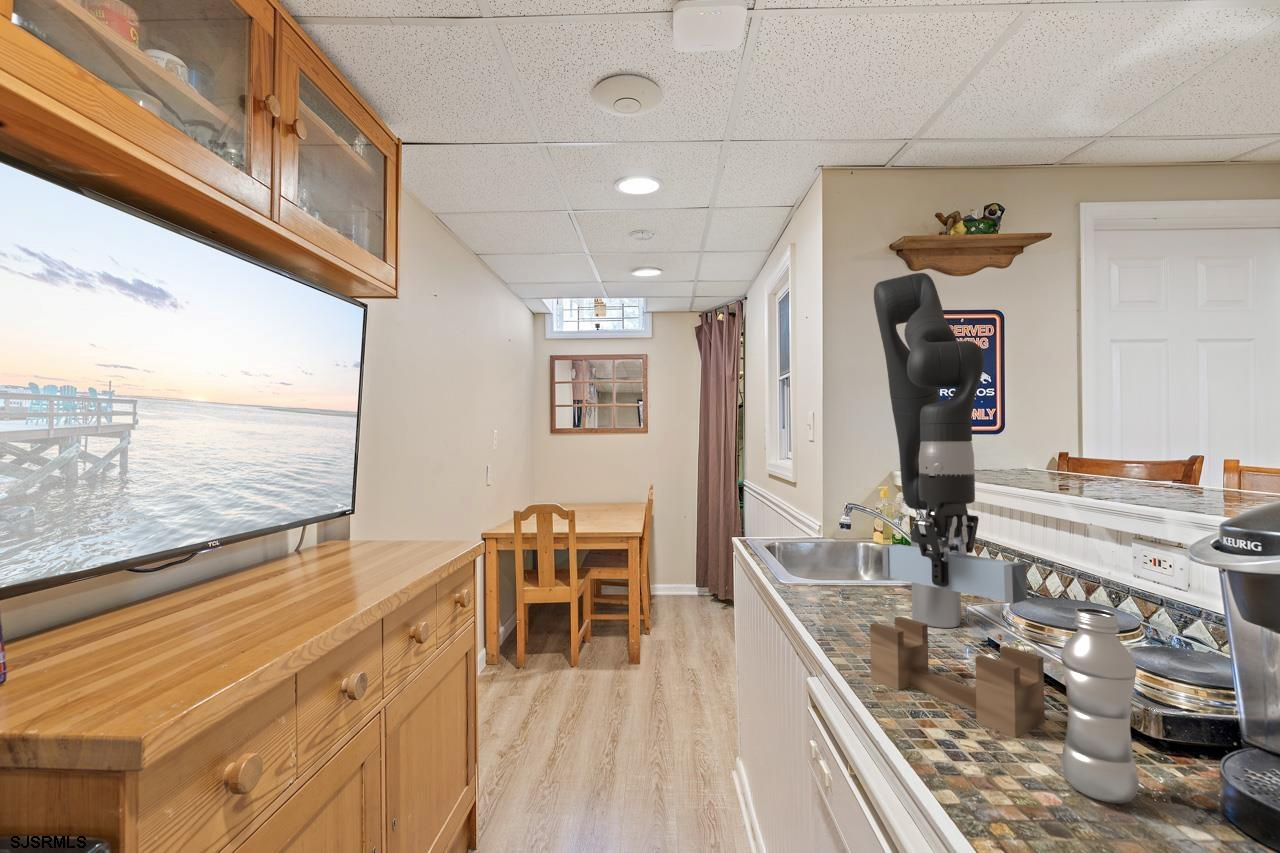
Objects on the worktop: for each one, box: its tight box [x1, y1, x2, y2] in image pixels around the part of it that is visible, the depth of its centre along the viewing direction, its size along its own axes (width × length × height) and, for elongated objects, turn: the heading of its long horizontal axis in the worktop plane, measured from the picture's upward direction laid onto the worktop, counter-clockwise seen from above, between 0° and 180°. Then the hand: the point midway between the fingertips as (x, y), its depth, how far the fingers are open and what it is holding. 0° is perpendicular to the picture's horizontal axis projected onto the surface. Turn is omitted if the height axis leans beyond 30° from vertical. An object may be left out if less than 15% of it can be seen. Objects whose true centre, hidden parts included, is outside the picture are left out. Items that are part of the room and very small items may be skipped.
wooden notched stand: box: [869, 615, 1046, 739], centre depth 87 cm, size 8×22×9 cm, turn 31°
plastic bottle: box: [1060, 607, 1140, 805], centre depth 64 cm, size 6×7×20 cm
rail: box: [881, 543, 1028, 605], centre depth 87 cm, size 4×20×5 cm, turn 31°
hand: (948, 583), depth 87 cm, fingers closed on rail, 3 cm apart
